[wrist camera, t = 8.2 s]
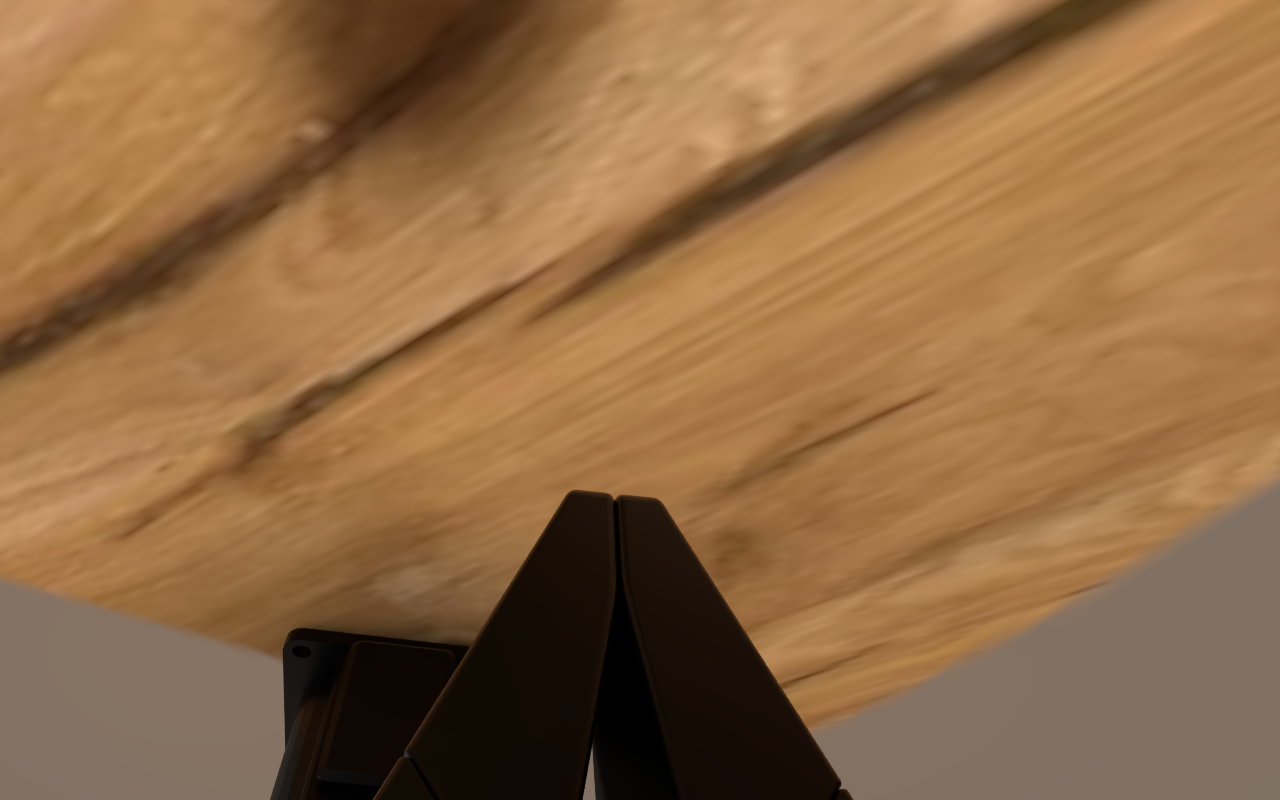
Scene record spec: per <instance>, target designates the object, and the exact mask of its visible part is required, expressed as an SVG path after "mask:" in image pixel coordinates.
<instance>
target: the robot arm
mask: <svg viewBox="0 0 1280 800" xmlns="http://www.w3.org/2000/svg"><path fill="white" fill-rule="evenodd" d="M283 670H284V671H283V674H284V712H285V753H284V756H283V760H282V762H281V766H280V769H279V772H278V776H277V779H276V782H275V786H274V789H273V792H272V795H271V798H270V800H583V794H584V789H585V782H586V777H587V771H588V766H589V760H590V754H591V749H592V743H593V764H594V779H595V795H596V800H853V798H852V797H851V795H850V794H849V792H848V791H847V790H846V789H840V787H841V780H840V779H839V777H838V775H837V774H836V772H835V771H834V769H833V768H832V766H831V765H830V763H829V762H828V760H827V759H826V757H825V755H824V754H823V752H822V751H821V749H820V748H819V746H818V744H817V743H816V741H815V740H814V738H813V737H812V735H811V733H810V732H809V730H808V729H807V727H806V726H805V724H804V723H803V721H802V719H801V718H800V716H799V715H798V713H797V712H796V710H795V709H794V707H793V705H792V704H791V702H790V701H789V699H788V698H787V696H786V695H785V693H784V691H783V690H782V688H781V687H780V685H779V684H778V682H777V681H776V679H775V677H774V676H773V674H772V673H771V671H770V670H769V668H768V667H767V665H766V663H765V662H764V660H763V659H762V657H761V656H760V654H759V653H758V651H757V649H756V648H755V646H754V645H753V643H752V642H751V640H750V639H749V637H748V635H747V634H746V632H745V631H744V629H743V628H742V626H741V625H740V623H739V621H738V620H737V618H736V617H735V615H734V614H733V612H732V610H731V609H730V607H729V606H728V604H727V603H726V601H725V600H724V598H723V596H722V595H721V593H720V592H719V590H718V589H717V587H716V586H715V584H714V582H713V581H712V579H711V578H710V576H709V575H708V573H707V572H706V570H705V568H704V567H703V565H702V564H701V562H700V561H699V559H698V558H697V556H696V554H695V553H694V551H693V550H692V548H691V547H690V545H689V544H688V542H687V540H686V539H685V537H684V536H683V534H682V533H681V531H680V530H679V528H678V526H677V525H676V523H675V522H674V520H673V519H672V517H671V516H670V514H669V512H668V511H667V509H666V508H665V506H664V505H663V503H662V502H661V501H659V500H658V499H656V498H651V497H641V496H632V495H619V496H617V498H616V499H615V500H614V499H613V497H612V496H611V495H610V494H608V493H603V492H593V491H583V490H572V491H570V492H569V493H568V494H567V495H566V496H565V498H564V499H563V501H562V502H561V504H560V506H559V507H558V509H557V510H556V512H555V514H554V515H553V517H552V518H551V520H550V521H549V523H548V525H547V526H546V528H545V529H544V531H543V533H542V534H541V536H540V537H539V539H538V540H537V542H536V544H535V545H534V547H533V548H532V550H531V552H530V553H529V555H528V556H527V558H526V559H525V561H524V563H523V564H522V566H521V567H520V569H519V571H518V572H517V574H516V575H515V577H514V578H513V580H512V582H511V583H510V585H509V586H508V588H507V589H506V591H505V593H504V594H503V596H502V597H501V599H500V601H499V602H498V604H497V605H496V607H495V608H494V610H493V612H492V613H491V615H490V616H489V618H488V620H487V621H486V623H485V624H484V626H483V627H482V629H481V631H480V632H479V634H478V635H477V637H476V639H475V640H474V642H473V643H472V645H471V646H470V647H464V646H455V645H447V644H438V643H429V642H420V641H411V640H403V639H394V638H385V637H376V636H367V635H359V634H350V633H341V632H332V631H324V630H315V629H306V628H300V629H295V630H292V631H291V632H290V633H289V634H288V636H287V639H286V642H285V645H284V648H283ZM839 789H840V790H839Z"/></svg>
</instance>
